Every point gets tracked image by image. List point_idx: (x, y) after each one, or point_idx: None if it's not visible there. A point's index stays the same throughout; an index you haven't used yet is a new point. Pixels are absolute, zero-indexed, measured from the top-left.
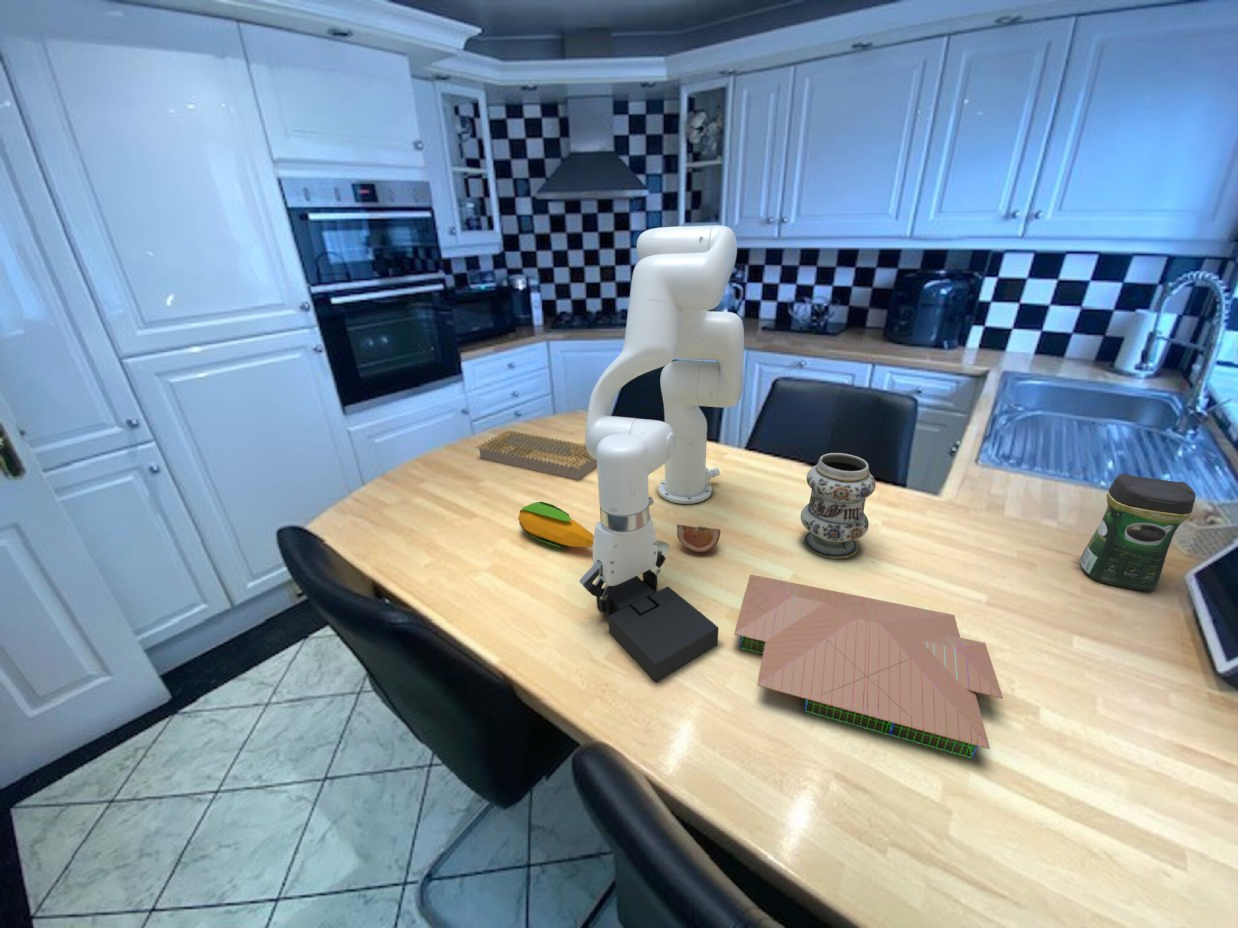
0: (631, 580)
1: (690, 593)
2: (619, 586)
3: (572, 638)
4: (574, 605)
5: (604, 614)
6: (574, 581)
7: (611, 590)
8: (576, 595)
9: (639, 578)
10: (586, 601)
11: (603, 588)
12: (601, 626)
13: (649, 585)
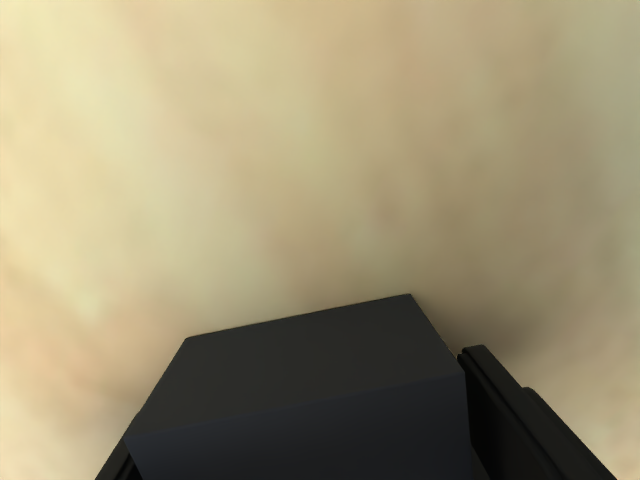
0: (398, 437)
1: (627, 419)
2: (280, 461)
3: (2, 469)
4: (28, 276)
5: None
6: (49, 29)
7: (206, 475)
8: (49, 195)
9: (466, 438)
10: (107, 273)
11: (148, 440)
12: None
13: (489, 449)
